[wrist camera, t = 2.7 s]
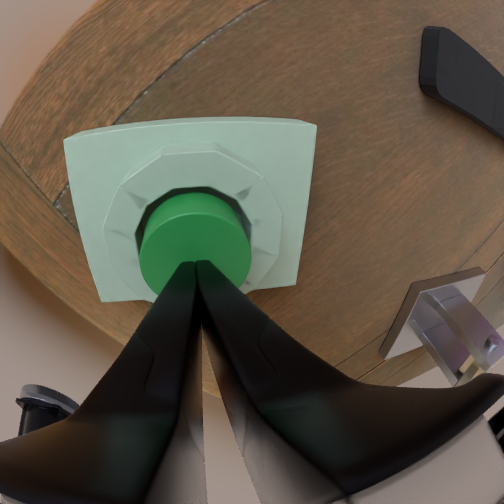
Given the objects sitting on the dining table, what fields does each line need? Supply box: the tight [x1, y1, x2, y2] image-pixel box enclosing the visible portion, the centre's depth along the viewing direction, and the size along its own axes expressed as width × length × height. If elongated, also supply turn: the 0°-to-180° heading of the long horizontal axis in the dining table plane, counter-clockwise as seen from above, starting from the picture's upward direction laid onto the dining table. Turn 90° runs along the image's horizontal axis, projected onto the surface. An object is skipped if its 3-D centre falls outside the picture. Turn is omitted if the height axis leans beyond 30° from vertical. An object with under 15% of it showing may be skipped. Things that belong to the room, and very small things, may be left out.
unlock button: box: [139, 192, 252, 295], centre depth 9 cm, size 4×4×2 cm
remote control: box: [420, 26, 504, 140], centre depth 12 cm, size 5×2×15 cm
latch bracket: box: [379, 267, 504, 386], centre depth 20 cm, size 12×9×10 cm
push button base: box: [64, 117, 317, 303], centre depth 11 cm, size 10×8×4 cm
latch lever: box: [453, 354, 484, 387], centre depth 16 cm, size 11×6×2 cm, turn 87°
